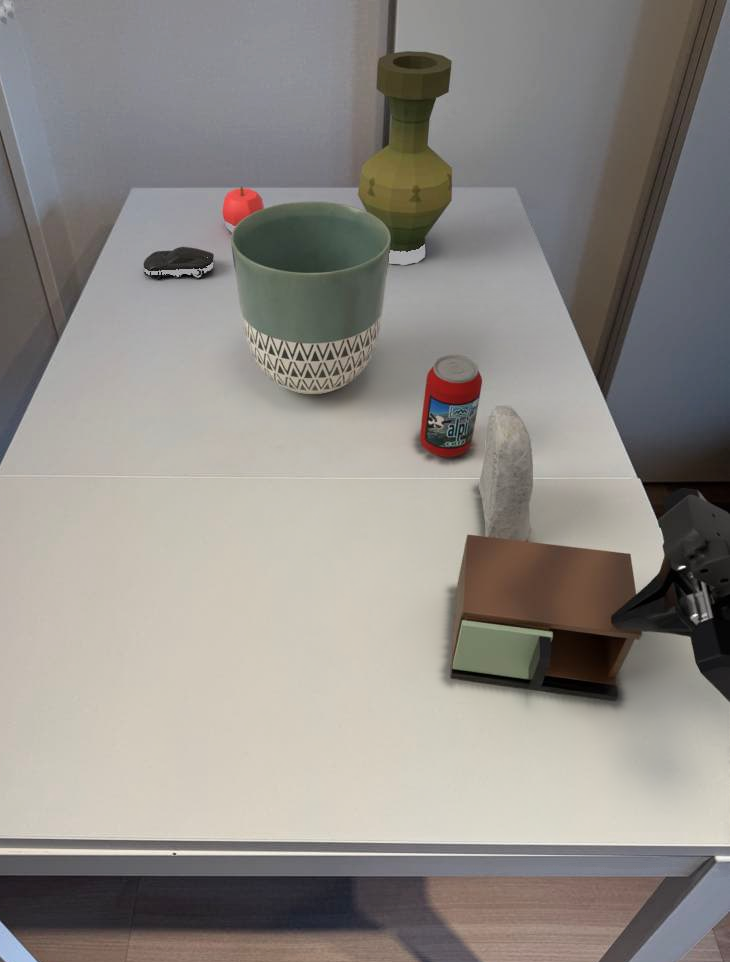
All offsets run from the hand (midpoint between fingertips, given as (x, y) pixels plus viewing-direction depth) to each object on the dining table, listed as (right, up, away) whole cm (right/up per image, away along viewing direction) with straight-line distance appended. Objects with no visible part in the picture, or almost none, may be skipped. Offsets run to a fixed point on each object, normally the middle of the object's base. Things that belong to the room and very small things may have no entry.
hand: (613, 623), depth 67 cm
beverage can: (-10, +20, +34) cm, 40 cm away
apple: (-40, +65, +76) cm, 108 cm away
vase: (-12, +59, +70) cm, 92 cm away
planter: (-27, +30, +44) cm, 60 cm away
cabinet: (-4, -3, +12) cm, 13 cm away
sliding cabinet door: (-9, -7, +7) cm, 13 cm away
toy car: (-50, +53, +66) cm, 98 cm away
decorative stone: (-5, +10, +25) cm, 27 cm away
